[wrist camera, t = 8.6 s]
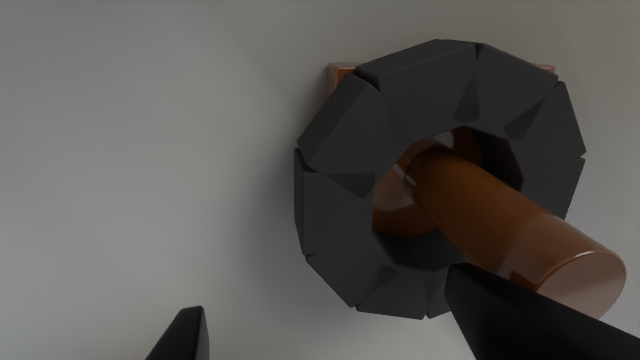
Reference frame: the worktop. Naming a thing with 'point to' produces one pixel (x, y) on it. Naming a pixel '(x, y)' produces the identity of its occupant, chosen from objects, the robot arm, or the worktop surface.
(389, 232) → the copper peg on plate
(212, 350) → the worktop surface
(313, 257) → the rubber ring
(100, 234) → the worktop surface
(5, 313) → the worktop surface
